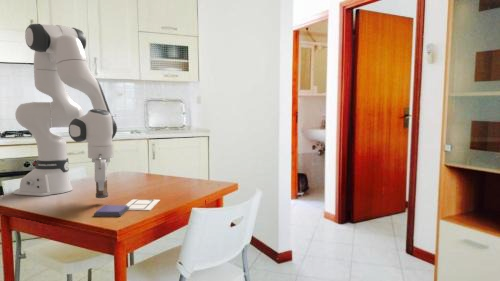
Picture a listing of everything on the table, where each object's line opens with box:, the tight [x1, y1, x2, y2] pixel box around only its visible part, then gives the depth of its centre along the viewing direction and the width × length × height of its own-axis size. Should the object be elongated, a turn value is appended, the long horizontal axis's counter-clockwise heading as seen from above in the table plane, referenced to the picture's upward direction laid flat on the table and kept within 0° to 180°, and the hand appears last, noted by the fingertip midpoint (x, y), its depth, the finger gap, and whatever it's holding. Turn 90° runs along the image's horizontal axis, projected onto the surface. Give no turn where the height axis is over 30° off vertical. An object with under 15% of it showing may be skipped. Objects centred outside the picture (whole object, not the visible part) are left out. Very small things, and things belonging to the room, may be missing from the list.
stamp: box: [95, 176, 109, 199], centre depth 135 cm, size 4×4×9 cm
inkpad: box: [93, 204, 129, 218], centre depth 124 cm, size 9×9×2 cm
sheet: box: [125, 198, 161, 211], centre depth 134 cm, size 11×14×1 cm
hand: (101, 188), depth 135 cm, fingers closed on stamp, 4 cm apart
